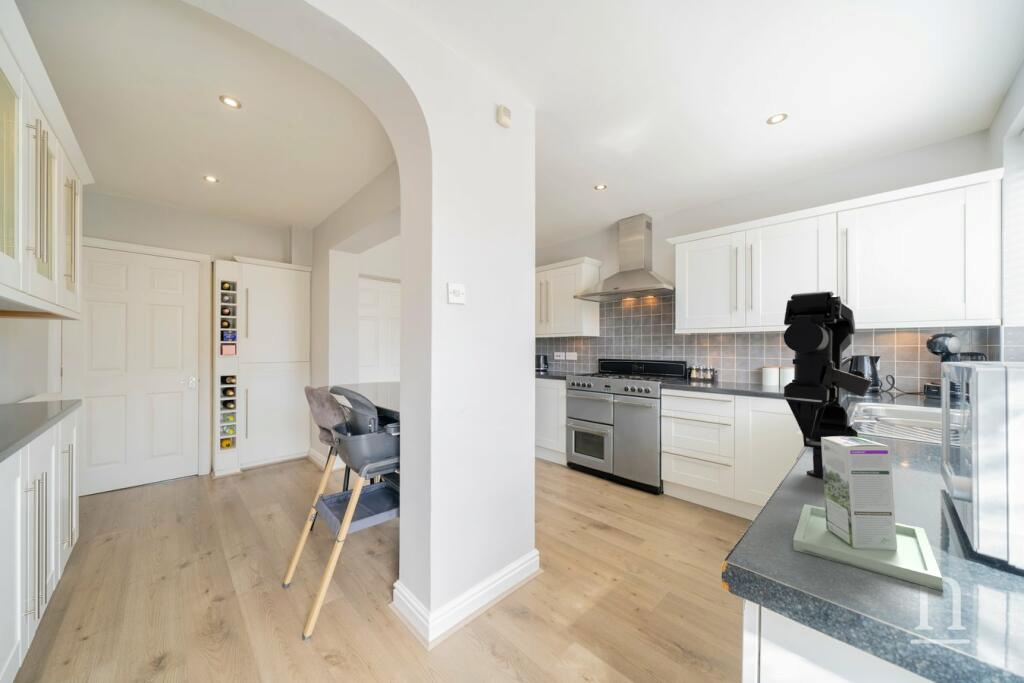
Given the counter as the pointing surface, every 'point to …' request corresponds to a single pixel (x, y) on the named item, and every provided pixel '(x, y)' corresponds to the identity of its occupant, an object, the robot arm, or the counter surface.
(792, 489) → the counter surface
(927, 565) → the tray
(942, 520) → the counter surface
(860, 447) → the syrup box
